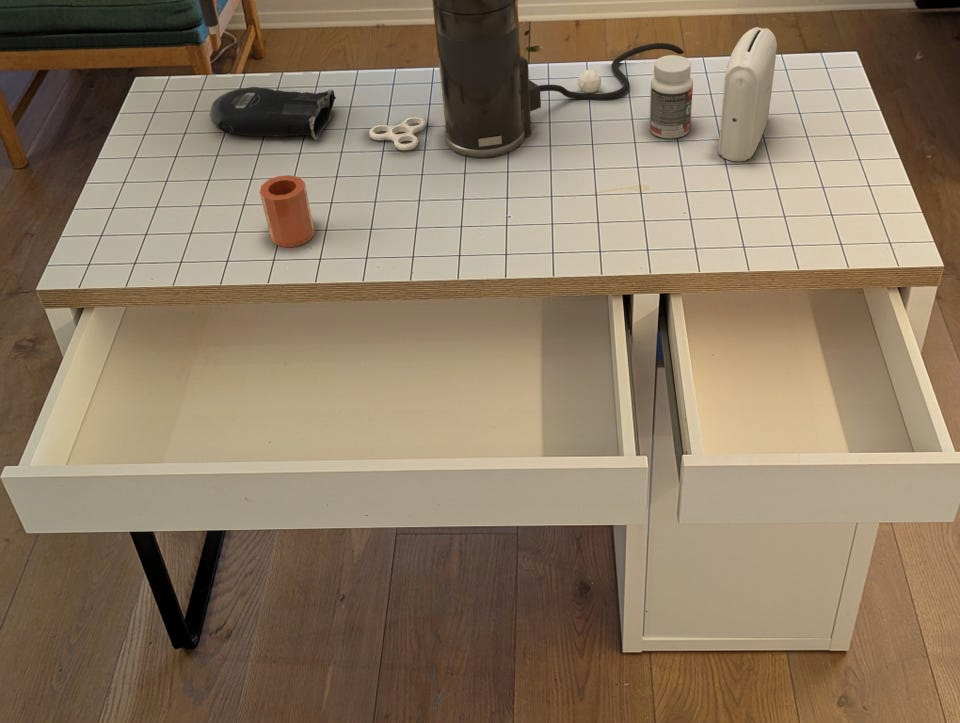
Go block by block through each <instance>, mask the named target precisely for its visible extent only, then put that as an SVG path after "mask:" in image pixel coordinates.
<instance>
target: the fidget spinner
mask: <svg viewBox="0 0 960 723" xmlns="http://www.w3.org/2000/svg"><path fill="white" fill-rule="evenodd" d="M410 124H416V125H410ZM426 125H427V123H426V120H425V119H424V118H422V117H419V116H411V117H408V118H406V119H404V120H403V121H402V122H401V123H399V124H396V125H389V124H388V125H387V124H378V125H375V126H372V127H371V128H370V129H369V131H368V135H369V137H370V139H372V140H375V141H384V140H385V141H386V140H387V141H391V142H393V145H394V147H395V148H396V149H397V150H400V151H411V150H414V149H415V148H416V147H417V146H418V145H419V138H418V137H417V136H416V135H415V134H416V133H418V132H421V131H422V130H424V129H425V128H426ZM378 132H384V133H378ZM406 141H407V142H409V143H403V142H406Z"/></svg>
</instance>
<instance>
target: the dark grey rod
mask: <svg viewBox="0 0 960 723" xmlns="http://www.w3.org/2000/svg"><path fill="white" fill-rule="evenodd" d="M197 2H198V5H199V9H200V12H201V17H202V20H203V23H204V26H205V27H207V28H208V30H209V34H210V35H216V34H217V33H218V28H217V26H218V25H219V19H218V16H217V12H216V8H215V3H214V0H197Z"/></svg>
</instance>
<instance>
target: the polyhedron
mask: <svg viewBox="0 0 960 723" xmlns="http://www.w3.org/2000/svg"><path fill="white" fill-rule="evenodd" d="M577 85H578V89H579V90H580V91H581V93H590V94H595V93H596V92H598V91H599V90H600V89H601V86H602V78H601V75H600V73H599V72H597V70H594V69H586V70H585V71H583V72H581V73H580V75H579V76H578V79H577Z"/></svg>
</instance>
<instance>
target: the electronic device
mask: <svg viewBox="0 0 960 723" xmlns="http://www.w3.org/2000/svg"><path fill="white" fill-rule="evenodd" d="M336 99H337V96H336V95H335V90H334V89H332V88H329V89H328V90H326V91H323V92H317V93H316V92H307V91H305V92H300V91H286V90H285V91H283V90H281V89H280V90H279V89H272V88H267V87H258V86H249V87H241V88H237V89H234V90H231V91H227V92H226V93H224V94H222V95H220V96H219V97H218V98H216V99H215V100H214V101H213V102H212V103H211V107H210V110H209V118H210V121H211V123H212V124H213V125H214V127H215V128H217V129H218V130H219V131H221V132H223V133H227V134H232V135H240V136H253V137H254V136H255V137H257V136H265V137H272V136H274V137H280V136H281V137H289V136H311V137H312V138H313V139H314V141H318V139H319V137H320V135H321V133H322V131H323V130H324V129H325V127H326V125H327V124H328V123H329V121H330V120H331V117H332V110H333V107H334V103H335V100H336Z"/></svg>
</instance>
